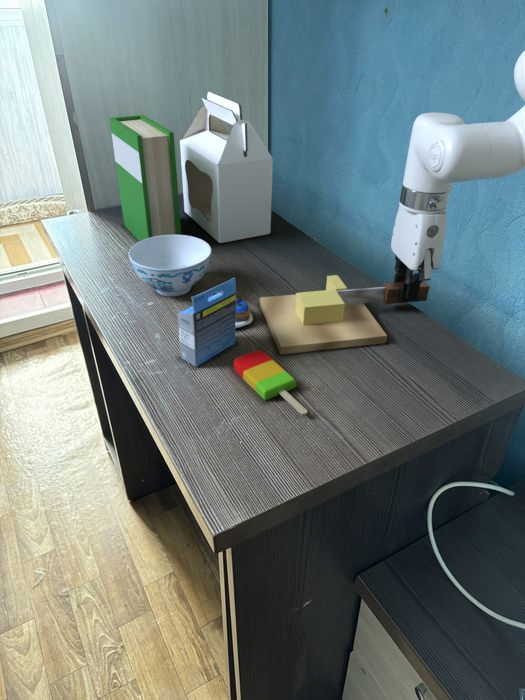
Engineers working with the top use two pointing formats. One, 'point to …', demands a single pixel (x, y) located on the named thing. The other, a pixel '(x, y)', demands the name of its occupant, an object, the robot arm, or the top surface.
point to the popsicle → (266, 377)
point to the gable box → (226, 173)
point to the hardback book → (146, 176)
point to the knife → (380, 294)
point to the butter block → (319, 307)
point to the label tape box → (208, 324)
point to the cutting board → (319, 327)
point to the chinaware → (170, 262)
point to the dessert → (242, 313)
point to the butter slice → (335, 283)
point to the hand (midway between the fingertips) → (403, 296)
